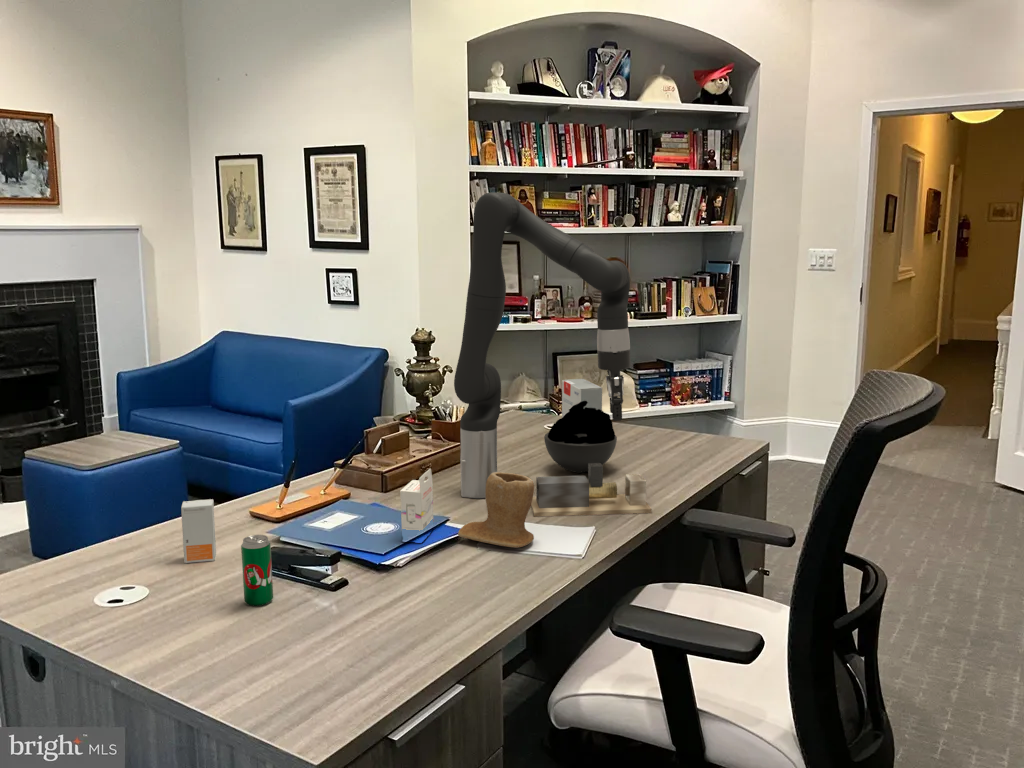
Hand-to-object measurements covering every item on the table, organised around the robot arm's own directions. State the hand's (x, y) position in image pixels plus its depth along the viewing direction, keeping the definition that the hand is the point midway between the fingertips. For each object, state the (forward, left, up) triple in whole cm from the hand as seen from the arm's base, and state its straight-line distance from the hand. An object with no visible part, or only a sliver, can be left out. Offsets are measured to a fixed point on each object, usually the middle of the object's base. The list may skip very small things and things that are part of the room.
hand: (616, 416), depth 201 cm
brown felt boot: (-28, -17, -23) cm, 41 cm away
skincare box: (-90, -22, -23) cm, 96 cm away
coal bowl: (-2, +35, -23) cm, 42 cm away
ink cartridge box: (-46, -13, -23) cm, 54 cm away
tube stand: (-5, +4, -23) cm, 24 cm away
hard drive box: (+3, +63, -23) cm, 67 cm away
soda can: (-74, -44, -23) cm, 90 cm away
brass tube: (-7, +4, -21) cm, 23 cm away
